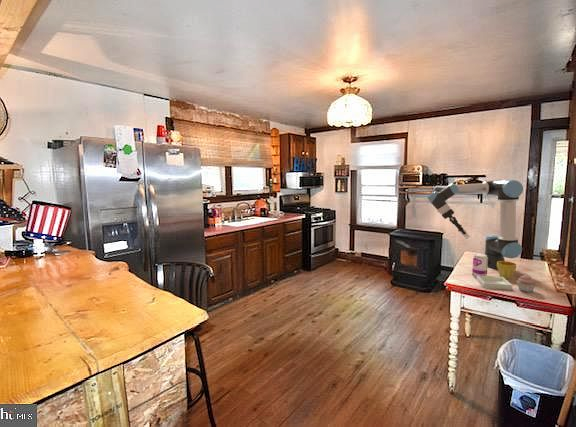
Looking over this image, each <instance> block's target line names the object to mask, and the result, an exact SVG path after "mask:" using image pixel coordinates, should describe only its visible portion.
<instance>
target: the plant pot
mask: <svg viewBox="0 0 576 427" xmlns="http://www.w3.org/2000/svg"><path fill="white" fill-rule="evenodd" d="M497 267H498V268H497V270H498V277H504V278H505V279H506V280H510V279H513V277H514V273H515V271H516V270H517V263H515V262H513V261H506V260H505V261H498V262H497Z"/></svg>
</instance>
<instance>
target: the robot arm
mask: <svg viewBox="0 0 576 427" xmlns="http://www.w3.org/2000/svg"><path fill="white" fill-rule="evenodd" d="M523 193H524V186H523V184H522V183H521V182H520V181H518V180H516V179H494V180H489V181H483V182H482V183H467V184H466V183H465V184H464V183H463V184H455V183H450V184H448V185H436V186H434V187H433V189H432V193H430V194H429V195H428V196H427V200H428V201H429V203H430V204H431V205H432V206H433V207H434V208H435V210H437V213H439V214H440V215H441V216H442V218H443V219H444V220H446V219H448V220H449V222H450V223H452V224H453V225H454V226H455V227H456V228H457V230H458V232H460V233H461V235H463V237H464V238H465V240H467V239H469V238H471V236H470V235H469V233H468V232H467V231H466V230H465V229H464V227H463V225H462V224H460V223H459V222H458V220H457V218H456V216H454V214H455V211H454V210H453V209H452V208H451V206H450V205H449V204H448V203H447V200H449V199H450V198H452V197H454V196H461V195H462V196H463V195H464V196H465V195H477V194H478V195H484V196H488V195H489V196H497V201H499V202H500V208H499V209H500V210H499V211H500V212H499V214H500V217H499V223H500V225H499V235H490V234H489V235H487V236H486V237H485V244H484V245H485V246H484V255H487V257H488V265H487V268H490V269H498V267H497V262H498V261H506V260H505V258H507V259H516V258H518V257H519V256H521V254H522V251H523V247H522V245H521V244H520V243H519V238H518V237H517V236H516V233H517V232H516V222H517V220H516V219H517V217H516V216H517V212H516V211H517V201H519V200H520V199H519V198H520V196H521V195H522V194H523Z"/></svg>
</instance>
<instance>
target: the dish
mask: <svg viewBox="0 0 576 427" xmlns="http://www.w3.org/2000/svg"><path fill="white" fill-rule="evenodd" d="M476 281H477V282H478V283H479V284H480V286H482V288H485V289H486V288H487V289H495V290H508V291H512V290H513V284H511V282H510V281H508V279H505V278H504V277H500V276H494V275H492V276H491V275H487V276H481V275H477V278H476Z"/></svg>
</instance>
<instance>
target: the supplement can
mask: <svg viewBox="0 0 576 427" xmlns="http://www.w3.org/2000/svg"><path fill="white" fill-rule="evenodd" d="M487 265H488V257H487V255H485V253H484V254H483V253H475V254H473V256H472V272H471V273H472V274H471V275H472V276H473V277H474V278H476V279H477V275H481V276H488V267H487Z"/></svg>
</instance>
